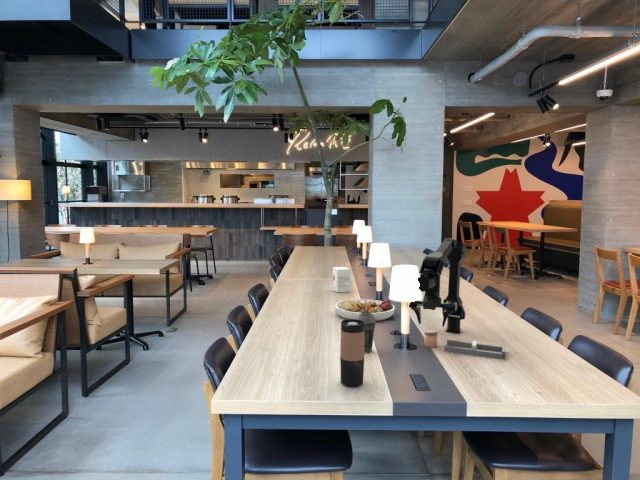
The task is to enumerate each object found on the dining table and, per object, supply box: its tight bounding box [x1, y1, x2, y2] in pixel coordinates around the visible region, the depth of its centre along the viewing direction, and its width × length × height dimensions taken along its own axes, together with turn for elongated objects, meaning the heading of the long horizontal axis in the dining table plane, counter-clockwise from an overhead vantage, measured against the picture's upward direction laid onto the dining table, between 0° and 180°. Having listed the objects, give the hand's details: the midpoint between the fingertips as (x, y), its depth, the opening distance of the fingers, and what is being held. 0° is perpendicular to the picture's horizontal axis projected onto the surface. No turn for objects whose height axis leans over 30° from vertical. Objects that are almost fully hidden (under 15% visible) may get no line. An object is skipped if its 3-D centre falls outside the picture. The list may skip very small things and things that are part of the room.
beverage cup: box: [358, 300, 377, 354], centre depth 174 cm, size 7×7×20 cm
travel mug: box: [339, 319, 365, 388], centre depth 144 cm, size 8×8×20 cm
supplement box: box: [332, 266, 351, 293], centre depth 286 cm, size 9×9×15 cm
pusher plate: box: [471, 340, 478, 350], centre depth 176 cm, size 6×2×3 cm, turn 157°
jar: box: [423, 329, 439, 349], centre depth 182 cm, size 5×5×6 cm
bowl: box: [334, 298, 396, 322], centre depth 229 cm, size 30×30×8 cm
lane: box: [443, 339, 507, 360], centre depth 176 cm, size 9×22×3 cm, turn 67°
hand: (431, 325), depth 182 cm, fingers open, 9 cm apart
